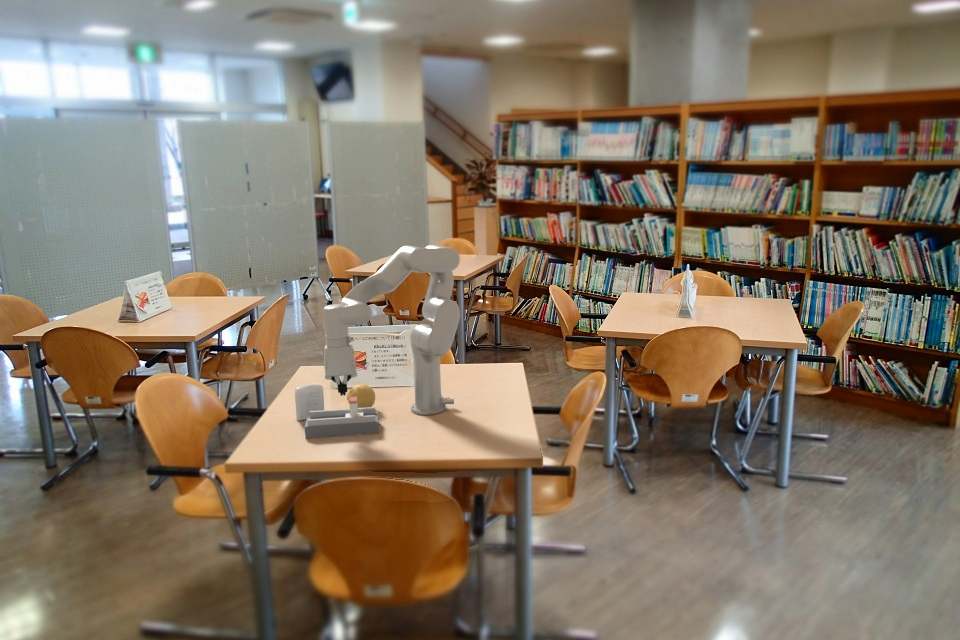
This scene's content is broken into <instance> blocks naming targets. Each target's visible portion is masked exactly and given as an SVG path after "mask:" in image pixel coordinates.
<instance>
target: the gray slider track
mask: <svg viewBox="0 0 960 640" xmlns="http://www.w3.org/2000/svg"><path fill="white" fill-rule="evenodd" d="M358 412H363V416H353V417H345V414H346V413H350V408H339V409H338V408H336V409H324V410H320V411H310V416H307V419H305V424H304V436H305V439H319V438H329V437H330V438H332V437H345V436H347V435H348V436H358V435H357V434H362V435H373V434H374V433H377V434H379V432H380V431H379V430H380V425H379V423H380V422H379V421H380V420H379V411H376V407H375V406H372V407H367V408H358ZM374 435H375V434H374Z"/></svg>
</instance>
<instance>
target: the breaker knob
mask: <svg viewBox="0 0 960 640" xmlns="http://www.w3.org/2000/svg"><path fill="white" fill-rule="evenodd" d="M348 404H349V405H348V406H349V409H350V413H346V414H345V417H353V416H363V412H358V405H357V396H356V397H350V399H349V402H348Z"/></svg>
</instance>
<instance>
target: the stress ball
mask: <svg viewBox="0 0 960 640" xmlns="http://www.w3.org/2000/svg"><path fill="white" fill-rule="evenodd" d="M356 396H357V405H358V408H367V407H374V404H375V401H376V394H375V391H374V389H373V388H372V387H371V386H369V385H368V384H365V383H359V384H356V385H354V386H353V387H352V388H350V389H349V392H347V397H346V400H347V401H348V403H349V399H350V397H356Z"/></svg>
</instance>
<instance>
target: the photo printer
mask: <svg viewBox="0 0 960 640" xmlns="http://www.w3.org/2000/svg"><path fill="white" fill-rule="evenodd" d="M294 397H295V398H294V401H295V413H296V414H295V415H296V420H297V421H306V420H307V416H310V411H320V410H325V396H324V386H323V384H321V383H317V382H316V383H315V382H310V383H305V384H303V385H300V386H298V387H296V388H295V390H294Z"/></svg>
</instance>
